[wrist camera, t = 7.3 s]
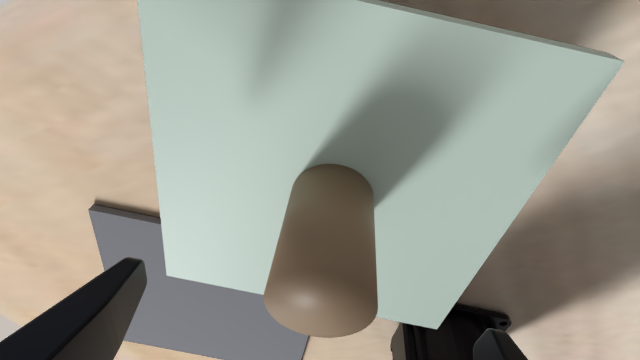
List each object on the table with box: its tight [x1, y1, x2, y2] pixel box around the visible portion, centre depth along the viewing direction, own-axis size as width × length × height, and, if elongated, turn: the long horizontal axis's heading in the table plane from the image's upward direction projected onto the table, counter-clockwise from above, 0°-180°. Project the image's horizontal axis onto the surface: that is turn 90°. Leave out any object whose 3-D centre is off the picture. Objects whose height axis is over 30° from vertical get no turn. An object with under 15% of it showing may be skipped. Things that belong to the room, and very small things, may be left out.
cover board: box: [137, 0, 624, 338], centre depth 11 cm, size 13×13×5 cm
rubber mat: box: [89, 204, 309, 360], centre depth 26 cm, size 15×15×1 cm
